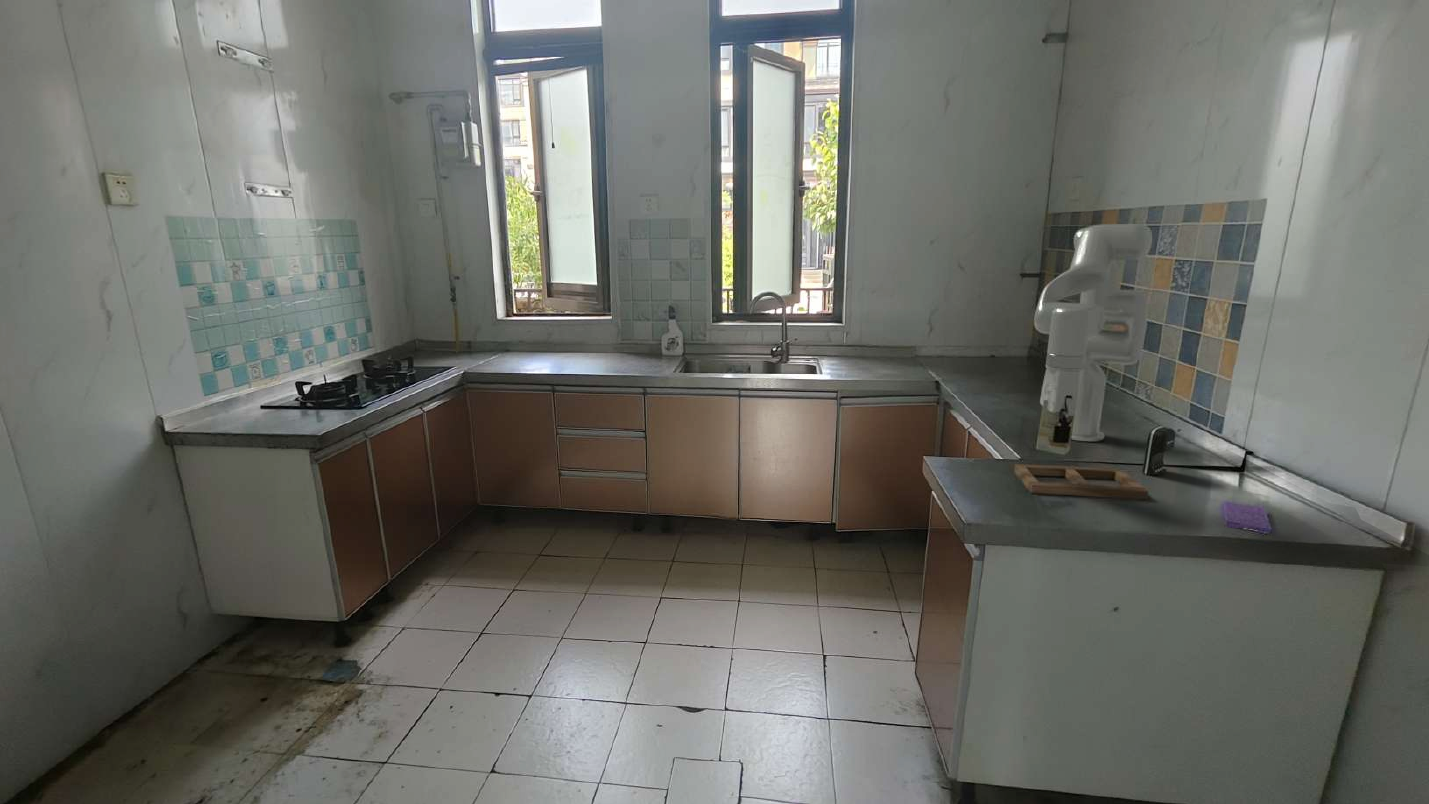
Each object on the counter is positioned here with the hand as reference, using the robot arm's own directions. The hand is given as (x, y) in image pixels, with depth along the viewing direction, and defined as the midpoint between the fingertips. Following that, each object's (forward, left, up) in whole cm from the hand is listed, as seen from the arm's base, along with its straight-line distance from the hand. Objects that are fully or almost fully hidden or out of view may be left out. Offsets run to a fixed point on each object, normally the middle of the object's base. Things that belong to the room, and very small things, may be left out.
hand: (1054, 437), depth 146 cm
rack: (0, +6, -11) cm, 13 cm away
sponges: (+15, +33, -12) cm, 38 cm away
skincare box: (0, 0, -3) cm, 3 cm away
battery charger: (-11, +28, -12) cm, 32 cm away
